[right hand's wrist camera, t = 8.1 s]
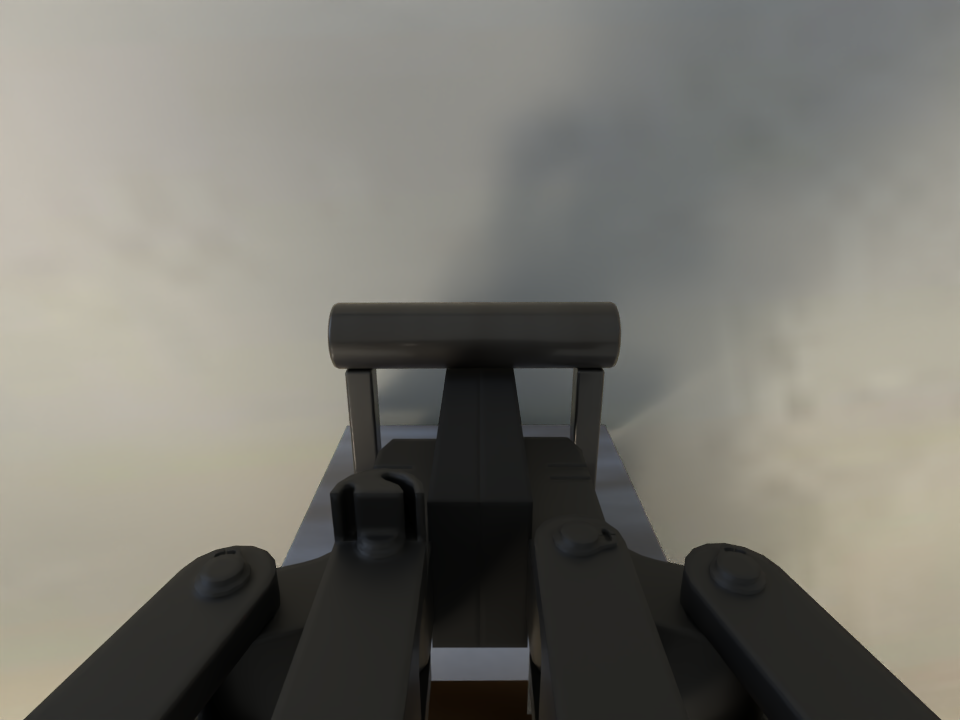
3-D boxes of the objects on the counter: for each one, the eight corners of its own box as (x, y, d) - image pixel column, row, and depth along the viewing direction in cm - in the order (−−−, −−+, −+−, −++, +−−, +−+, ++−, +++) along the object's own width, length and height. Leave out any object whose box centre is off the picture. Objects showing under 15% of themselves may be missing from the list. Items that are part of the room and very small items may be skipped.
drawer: (331, 257, 18) (196, 361, 9) (619, 257, 18) (749, 359, 9) (380, 798, 26) (334, 1111, 18) (575, 797, 26) (621, 1109, 18)
